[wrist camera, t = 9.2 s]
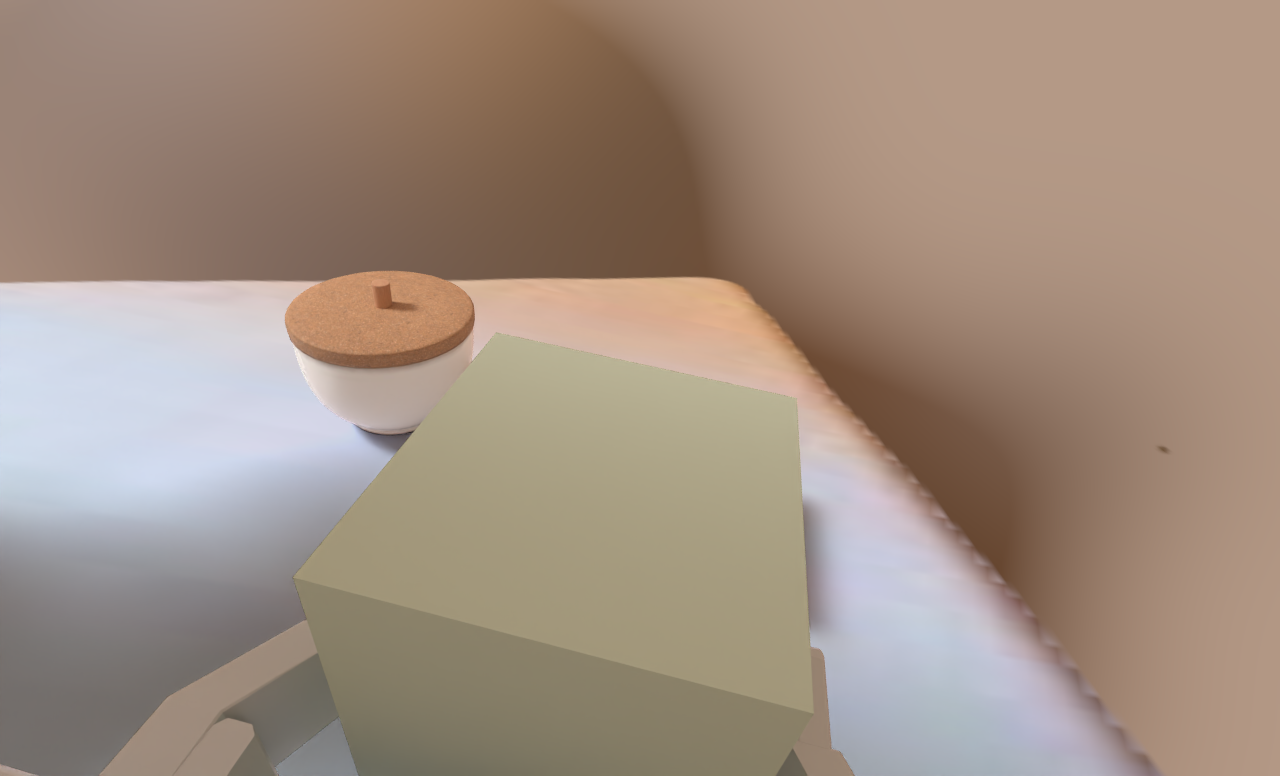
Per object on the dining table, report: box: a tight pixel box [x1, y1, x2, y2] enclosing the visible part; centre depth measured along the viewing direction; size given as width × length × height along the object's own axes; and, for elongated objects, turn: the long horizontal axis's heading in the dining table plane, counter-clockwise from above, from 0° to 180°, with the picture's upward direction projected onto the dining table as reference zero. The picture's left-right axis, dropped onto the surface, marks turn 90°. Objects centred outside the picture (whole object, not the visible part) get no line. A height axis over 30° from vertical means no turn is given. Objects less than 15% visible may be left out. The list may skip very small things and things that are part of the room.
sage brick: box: [293, 333, 814, 776], centre depth 10 cm, size 5×5×10 cm
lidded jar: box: [285, 271, 475, 435], centre depth 38 cm, size 11×11×9 cm
